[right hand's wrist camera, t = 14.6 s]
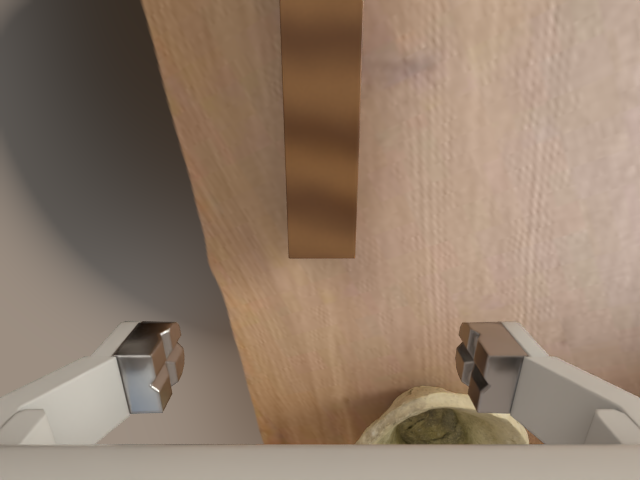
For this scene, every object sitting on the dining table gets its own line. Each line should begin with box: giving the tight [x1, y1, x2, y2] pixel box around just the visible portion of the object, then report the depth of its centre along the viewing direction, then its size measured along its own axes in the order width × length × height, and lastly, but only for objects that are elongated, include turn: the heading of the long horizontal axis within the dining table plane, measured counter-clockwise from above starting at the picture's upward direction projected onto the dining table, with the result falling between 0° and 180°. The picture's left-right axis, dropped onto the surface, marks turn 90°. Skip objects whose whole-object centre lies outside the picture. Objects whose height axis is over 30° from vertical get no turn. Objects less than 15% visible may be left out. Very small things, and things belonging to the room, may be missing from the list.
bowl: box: [355, 386, 529, 444], centre depth 37 cm, size 14×18×15 cm
